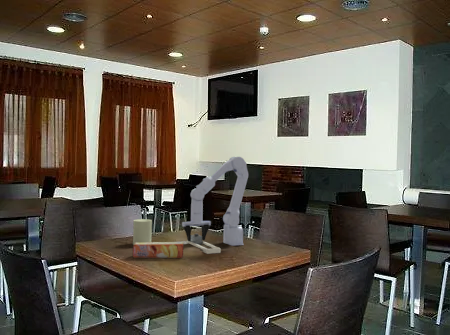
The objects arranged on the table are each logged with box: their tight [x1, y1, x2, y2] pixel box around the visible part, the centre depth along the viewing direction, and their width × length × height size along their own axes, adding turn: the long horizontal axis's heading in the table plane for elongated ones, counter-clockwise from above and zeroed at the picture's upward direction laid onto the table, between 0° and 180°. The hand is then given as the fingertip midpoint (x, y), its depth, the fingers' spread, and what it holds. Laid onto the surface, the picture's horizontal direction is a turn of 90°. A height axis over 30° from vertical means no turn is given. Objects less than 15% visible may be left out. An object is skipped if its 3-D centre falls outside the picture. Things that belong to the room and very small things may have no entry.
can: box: [132, 218, 153, 245], centre depth 212 cm, size 9×9×12 cm
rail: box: [186, 239, 222, 255], centre depth 203 cm, size 7×24×2 cm, turn 27°
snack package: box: [132, 241, 184, 259], centre depth 182 cm, size 21×7×7 cm, turn 92°
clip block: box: [191, 233, 203, 245], centre depth 210 cm, size 4×5×5 cm
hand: (196, 240), depth 210 cm, fingers open, 7 cm apart
